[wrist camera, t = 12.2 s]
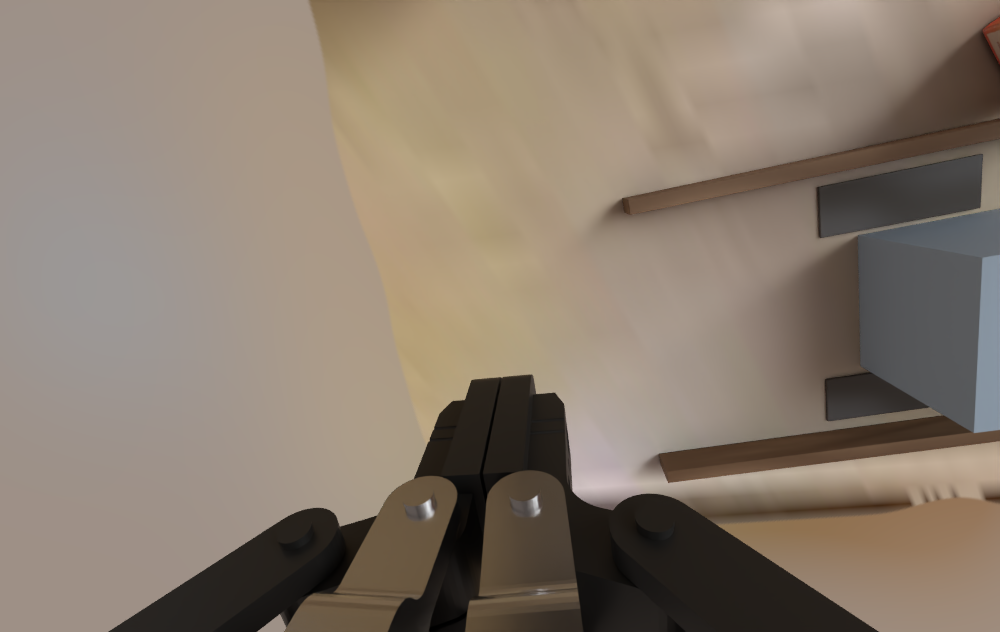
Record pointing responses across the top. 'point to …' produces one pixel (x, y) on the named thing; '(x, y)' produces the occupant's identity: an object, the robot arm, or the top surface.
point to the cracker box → (993, 37)
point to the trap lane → (838, 214)
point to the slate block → (936, 314)
